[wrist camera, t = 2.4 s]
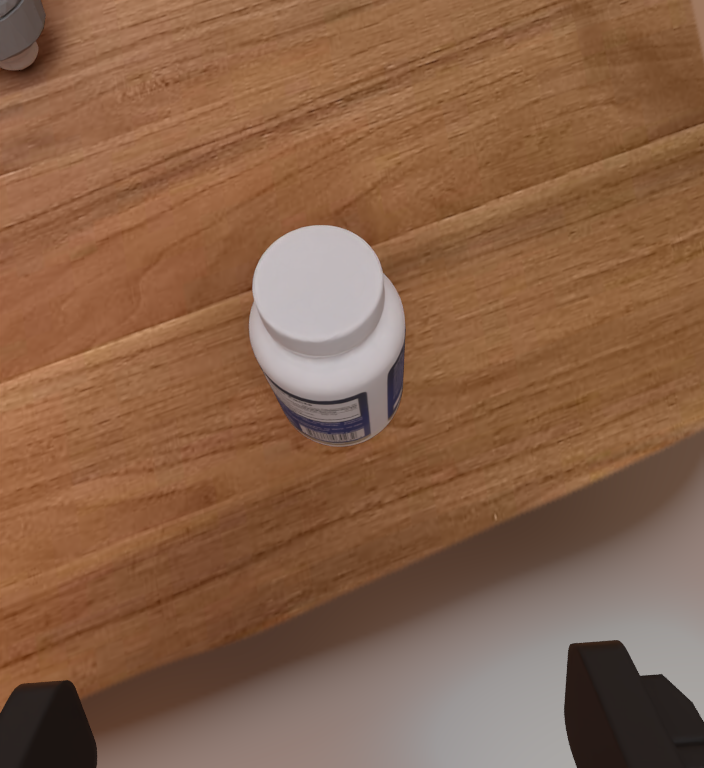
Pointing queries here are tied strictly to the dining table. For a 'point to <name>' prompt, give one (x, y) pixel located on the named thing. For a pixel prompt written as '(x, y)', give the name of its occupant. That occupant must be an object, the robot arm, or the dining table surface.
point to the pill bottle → (329, 334)
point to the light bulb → (20, 32)
